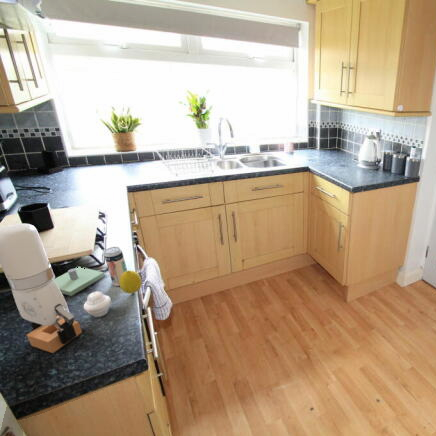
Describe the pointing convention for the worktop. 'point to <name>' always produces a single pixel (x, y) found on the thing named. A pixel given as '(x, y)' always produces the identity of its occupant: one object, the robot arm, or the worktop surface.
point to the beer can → (115, 264)
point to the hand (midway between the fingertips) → (56, 335)
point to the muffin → (97, 304)
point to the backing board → (77, 280)
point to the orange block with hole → (49, 336)
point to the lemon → (130, 282)
